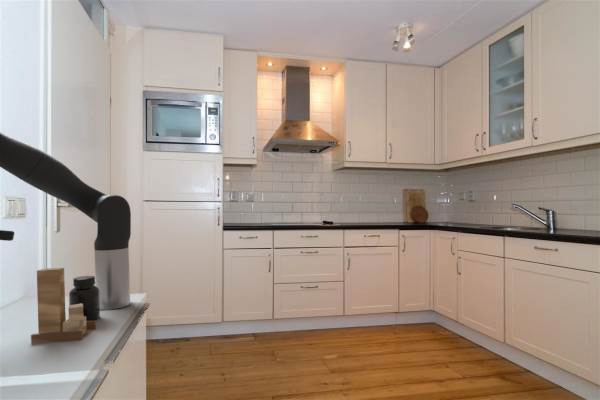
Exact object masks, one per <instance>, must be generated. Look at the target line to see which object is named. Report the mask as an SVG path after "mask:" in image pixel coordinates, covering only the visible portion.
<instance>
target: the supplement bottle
mask: <svg viewBox="0 0 600 400" xmlns="http://www.w3.org/2000/svg"><path fill="white" fill-rule="evenodd" d="M72 286H73V288H72V289H71V290H70V291H69V293H68V306H69V305H76V304H82V303H83V317H86V321H95V320H96V321H97V320H99V319H100V317H101V315H100V313H101V310H100V296H99V289H98V287H96V285H95V276H94V275H82V276H77V277H74V278H73V284H72Z"/></svg>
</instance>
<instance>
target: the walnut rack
mask: <svg viewBox="0 0 600 400" xmlns="http://www.w3.org/2000/svg"><path fill="white" fill-rule="evenodd" d="M86 328H87V332H86V333H84V334H83V332H82V331H68V332H53V333H39V332H37V333H32V334H30V344H32V345H33V344H46V343H47V344H49V343H60V342H61V343H63V342H76V341H82V340H83V339H85V338H86V337H87V336H88V335H90V334H91V333H92V332H93V331H95V330H96V329H97V320H95V321H86Z"/></svg>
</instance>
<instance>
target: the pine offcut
mask: <svg viewBox="0 0 600 400" xmlns="http://www.w3.org/2000/svg"><path fill="white" fill-rule="evenodd" d="M68 331H82V332H83V334H84V333H86V332H87V328H86V317H84V320H79V321H73V322H69V318H68V319H67V320H66V321H65V322H63V332H68Z"/></svg>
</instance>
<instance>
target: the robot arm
mask: <svg viewBox="0 0 600 400" xmlns="http://www.w3.org/2000/svg"><path fill="white" fill-rule="evenodd" d="M0 168H1V169H4V170H5V171H6V172H8V173H10V174H11V175H13V176H15V177H16V178H18V179H19V180H21V181H23V182H24V183H26V184H29V185H30V186H32V187H34V188H36V189H38V190H40V191H42V192H44V193H45V194H47V195H49V196H52V197H54V198H56V199H58V200H60V201H63V202H65V203H67V204H69V205H70V206H73V207H74V208H75V209H77V210H79V212H81V213H82V214H85V216H87V217H88V218H90V219H91V220H92V221H94V222H96V223H97V229H96V230H97V234H96V237H95V240H94V241H93V242H94V243H93V245H94V246H93V248H94V273H95V274H94V275H95V276H94V277H95V284H94V286H96V287H98V289H99V296H100V311H102V310H103V311H105V310H106V311H109V310H118V309H120V308H125V307H127V306H130V305H131V290H130V289H131V287H130V285H131V281H130V280H131V279H130V257H129V256H130V255H129V254H130V253H129V243H130V242H129V241H130V239H131V235H132V234H131V232H132V231H131V228H132V221H131V220H132V217H131V216H132V214H131V206H130V203H129V202H128V200H127V199H126V198H125V197H123V196H120V195H117V194H109V195H108V194H105V192H102V191H101V190H98V189H95V188H94V187H92V186H90V185H89V184H88V183H85V182H84V181H83V180H81V178H79V176H77V175H76V174H75V173H74V172H73V171H72V170H71V169H70V168H69V167H67V166H66V164H64V163H63V162H61V161H59V160H58V159H57V158H55V157H53V156H51V155H50V154H49V153H47V152H45V151H43V150H42V149H39V148H38V147H36V146H33V145H32V144H28V143H26V142H24V141H21V140H20V139H19V140H18V139H15V138H14V137H10V136H8V135H6V134H4V133H2V132H0ZM14 238H15V231H13V230H5V229H3V230H2V229H0V241H9V242H10V241H13V240H14Z"/></svg>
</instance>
